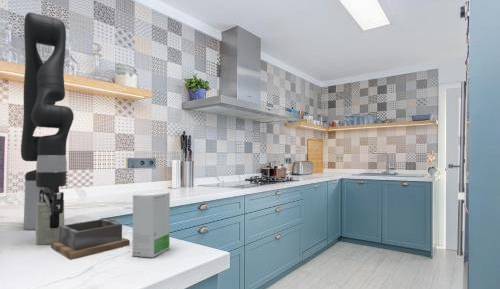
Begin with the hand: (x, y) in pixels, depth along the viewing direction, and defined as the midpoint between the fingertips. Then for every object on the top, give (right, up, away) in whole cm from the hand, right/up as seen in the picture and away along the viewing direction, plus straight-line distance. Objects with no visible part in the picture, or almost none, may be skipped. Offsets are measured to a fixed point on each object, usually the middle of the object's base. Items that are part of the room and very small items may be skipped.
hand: (50, 226), depth 86 cm
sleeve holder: (+15, -5, -4) cm, 16 cm away
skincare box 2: (+34, -4, -10) cm, 35 cm away
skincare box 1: (0, -5, 0) cm, 5 cm away
